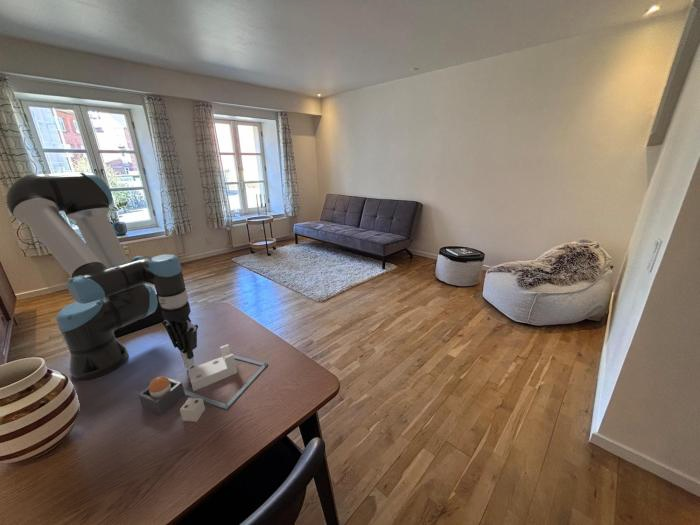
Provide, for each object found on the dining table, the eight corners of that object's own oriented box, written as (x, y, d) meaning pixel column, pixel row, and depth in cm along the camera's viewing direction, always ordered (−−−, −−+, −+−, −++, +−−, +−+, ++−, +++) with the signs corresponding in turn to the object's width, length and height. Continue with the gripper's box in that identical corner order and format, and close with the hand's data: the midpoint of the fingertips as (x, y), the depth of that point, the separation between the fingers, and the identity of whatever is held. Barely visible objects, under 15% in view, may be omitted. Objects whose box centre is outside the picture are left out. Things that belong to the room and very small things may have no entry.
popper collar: (142, 408, 80) (137, 394, 78) (167, 389, 86) (163, 376, 85) (161, 416, 77) (157, 402, 76) (185, 395, 84) (181, 382, 82)
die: (182, 420, 76) (179, 409, 74) (191, 408, 80) (188, 397, 78) (196, 421, 76) (193, 410, 74) (205, 409, 79) (202, 398, 78)
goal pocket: (178, 393, 85) (178, 391, 85) (225, 353, 102) (225, 352, 102) (226, 409, 79) (226, 408, 79) (267, 364, 96) (267, 363, 96)
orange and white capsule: (149, 403, 80) (142, 382, 77) (165, 390, 84) (159, 370, 82) (161, 408, 78) (155, 387, 76) (177, 394, 83) (171, 374, 80)
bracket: (231, 361, 98) (228, 343, 95) (237, 373, 93) (233, 354, 90) (190, 378, 91) (185, 359, 88) (193, 391, 86) (188, 372, 83)
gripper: (148, 306, 85) (165, 367, 94) (180, 313, 81) (195, 377, 90) (170, 295, 92) (184, 353, 100) (200, 301, 88) (213, 362, 96)
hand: (189, 364), depth 95 cm, fingers closed
